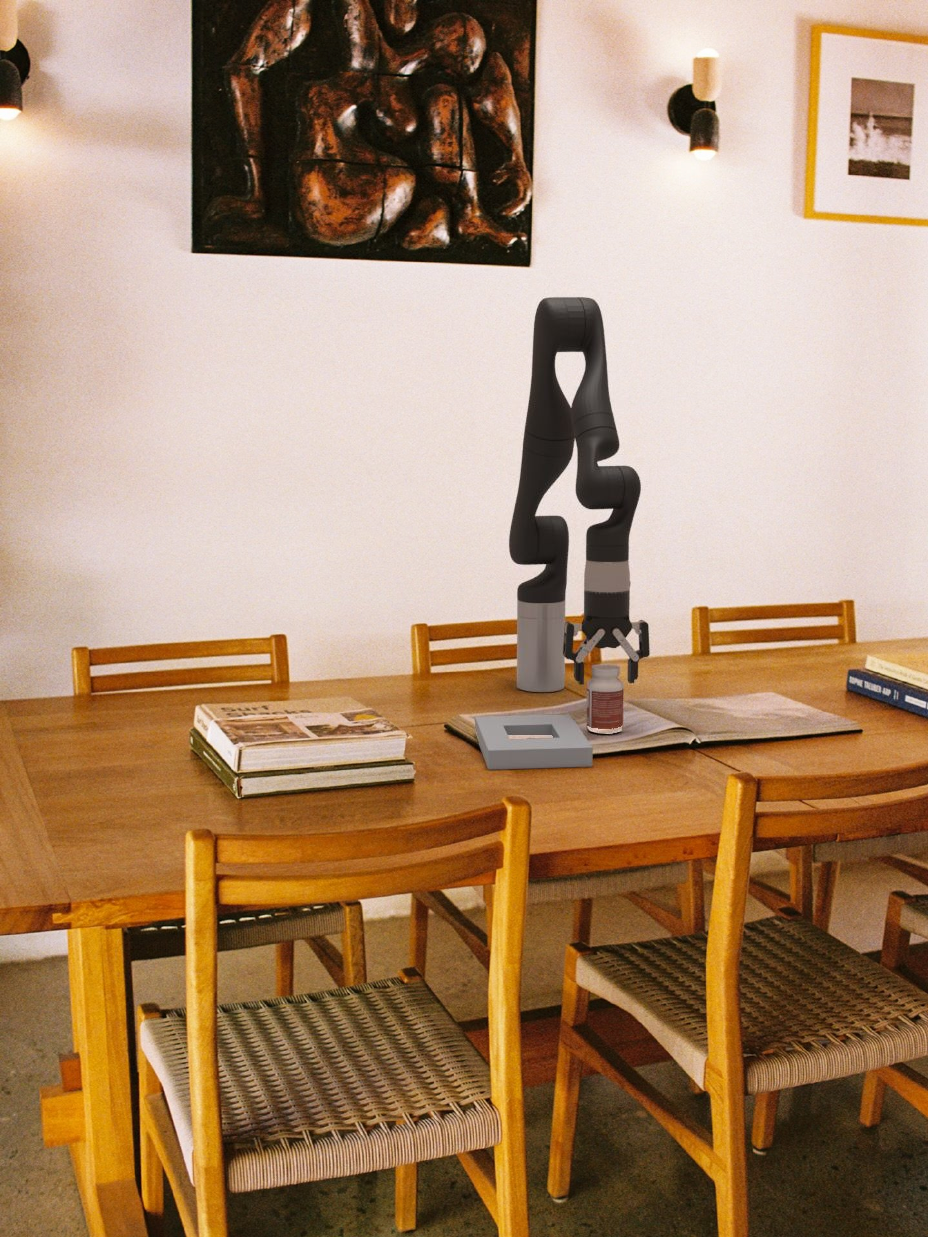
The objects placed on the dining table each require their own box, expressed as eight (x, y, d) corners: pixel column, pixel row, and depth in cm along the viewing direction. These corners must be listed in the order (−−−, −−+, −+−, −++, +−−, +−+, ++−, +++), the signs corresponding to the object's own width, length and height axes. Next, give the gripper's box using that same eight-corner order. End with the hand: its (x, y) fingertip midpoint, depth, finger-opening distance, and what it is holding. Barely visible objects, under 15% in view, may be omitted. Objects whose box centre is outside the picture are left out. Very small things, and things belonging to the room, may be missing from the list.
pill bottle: (630, 732, 211) (632, 667, 209) (602, 737, 207) (603, 672, 205) (606, 724, 216) (608, 661, 214) (578, 729, 212) (579, 665, 210)
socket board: (475, 734, 210) (475, 716, 209) (569, 731, 211) (569, 714, 210) (488, 769, 190) (488, 750, 189) (592, 766, 191) (592, 747, 191)
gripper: (643, 583, 211) (642, 677, 214) (560, 584, 210) (559, 679, 213) (654, 589, 204) (652, 686, 207) (568, 591, 203) (567, 689, 205)
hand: (605, 683), depth 210 cm, fingers open, 8 cm apart
